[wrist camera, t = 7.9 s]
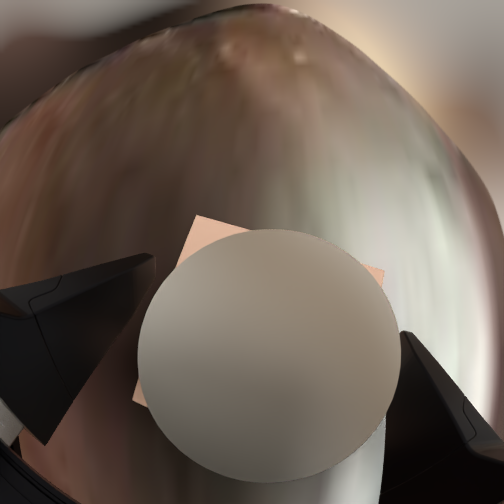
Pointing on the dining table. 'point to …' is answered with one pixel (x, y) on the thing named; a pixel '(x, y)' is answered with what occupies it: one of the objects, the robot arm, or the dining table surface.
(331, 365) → the white cylinder
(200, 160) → the dining table surface
